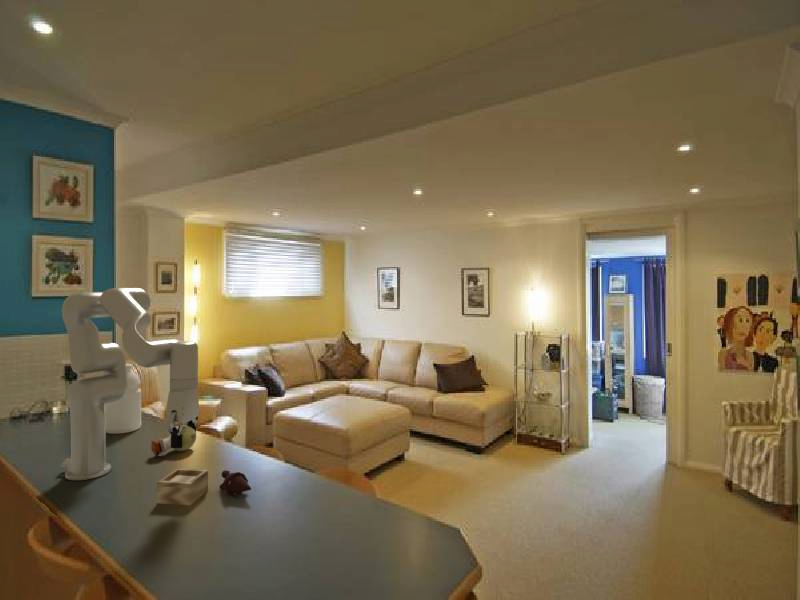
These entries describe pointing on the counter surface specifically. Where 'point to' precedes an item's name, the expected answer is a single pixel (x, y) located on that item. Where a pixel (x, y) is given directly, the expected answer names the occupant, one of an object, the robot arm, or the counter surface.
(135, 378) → the bottle
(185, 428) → the tennis ball
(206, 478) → the wooden box
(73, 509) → the counter surface
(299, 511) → the counter surface
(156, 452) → the potion bottle
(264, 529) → the counter surface
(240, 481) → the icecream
